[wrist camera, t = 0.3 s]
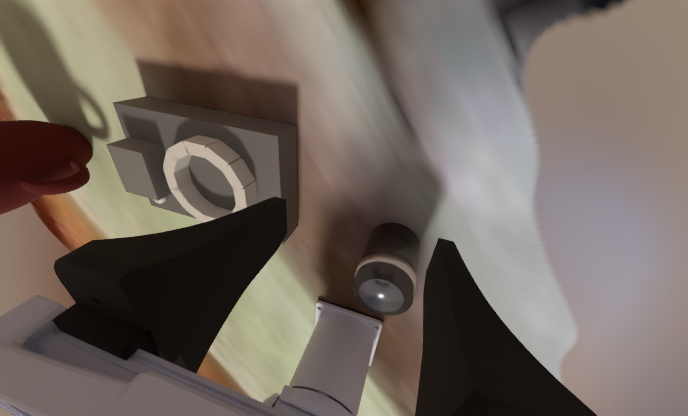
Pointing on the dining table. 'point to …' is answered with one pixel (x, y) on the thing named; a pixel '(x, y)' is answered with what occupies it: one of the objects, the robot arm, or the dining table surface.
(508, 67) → the dining table surface
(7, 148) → the mug
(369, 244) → the lens
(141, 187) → the camera body
